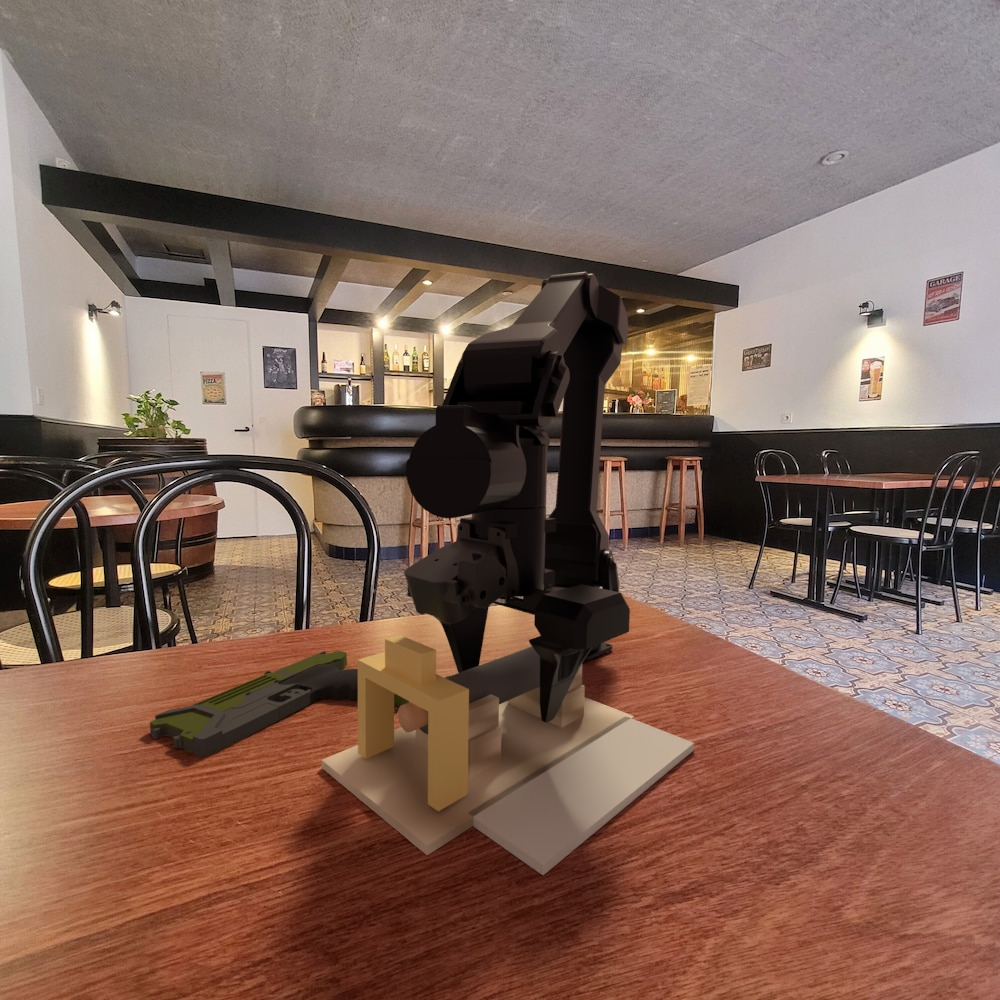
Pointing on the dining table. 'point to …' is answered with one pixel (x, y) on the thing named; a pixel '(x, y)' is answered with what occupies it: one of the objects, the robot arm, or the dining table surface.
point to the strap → (416, 680)
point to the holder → (470, 761)
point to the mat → (580, 792)
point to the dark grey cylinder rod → (485, 684)
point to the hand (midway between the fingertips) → (505, 701)
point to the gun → (258, 704)
